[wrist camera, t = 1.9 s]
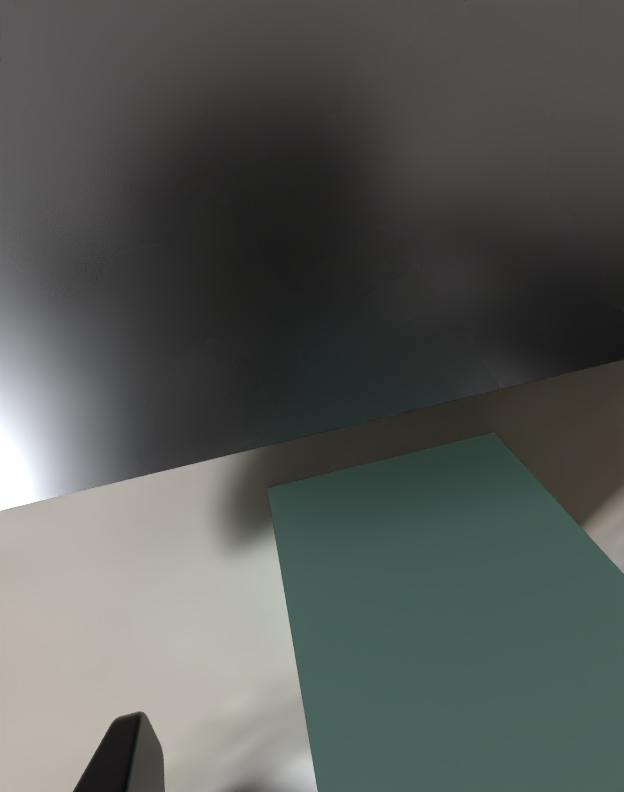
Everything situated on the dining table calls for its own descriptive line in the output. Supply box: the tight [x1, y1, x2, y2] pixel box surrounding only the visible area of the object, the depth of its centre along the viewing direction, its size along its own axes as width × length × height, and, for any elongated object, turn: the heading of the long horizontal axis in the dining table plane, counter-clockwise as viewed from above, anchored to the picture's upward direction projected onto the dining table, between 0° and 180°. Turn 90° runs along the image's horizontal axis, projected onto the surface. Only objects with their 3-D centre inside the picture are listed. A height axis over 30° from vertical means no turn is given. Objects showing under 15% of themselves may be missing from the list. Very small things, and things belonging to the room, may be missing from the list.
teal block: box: [267, 432, 624, 792], centre depth 8 cm, size 4×4×7 cm
